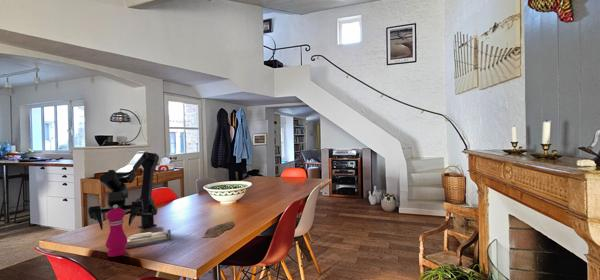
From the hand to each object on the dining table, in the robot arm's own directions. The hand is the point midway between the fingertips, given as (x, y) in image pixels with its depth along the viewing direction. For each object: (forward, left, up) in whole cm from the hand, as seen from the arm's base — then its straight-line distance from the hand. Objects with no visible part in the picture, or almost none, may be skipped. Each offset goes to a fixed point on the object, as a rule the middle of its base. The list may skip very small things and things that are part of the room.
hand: (115, 227), depth 108 cm
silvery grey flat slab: (-3, +14, -11) cm, 18 cm away
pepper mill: (-1, +1, -11) cm, 11 cm away
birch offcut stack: (-3, +14, -10) cm, 18 cm away
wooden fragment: (+15, +41, -12) cm, 45 cm away
